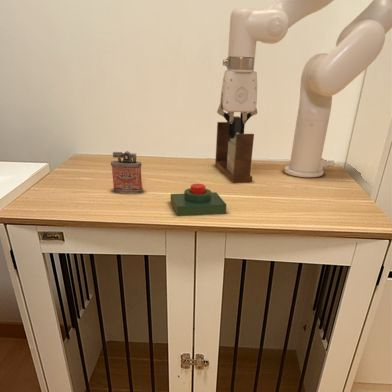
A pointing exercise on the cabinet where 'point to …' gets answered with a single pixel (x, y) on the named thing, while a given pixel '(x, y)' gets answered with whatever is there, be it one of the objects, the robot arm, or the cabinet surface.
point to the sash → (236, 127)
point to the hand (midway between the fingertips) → (235, 137)
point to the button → (198, 188)
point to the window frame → (234, 154)
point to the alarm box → (197, 203)
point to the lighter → (126, 173)
